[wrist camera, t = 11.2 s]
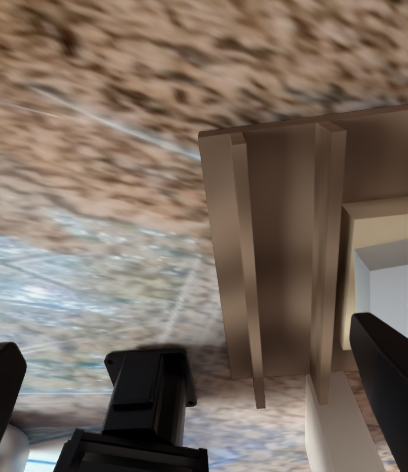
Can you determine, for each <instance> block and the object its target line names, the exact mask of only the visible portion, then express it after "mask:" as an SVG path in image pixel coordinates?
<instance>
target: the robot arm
mask: <svg viewBox="0 0 408 472" xmlns="http://www.w3.org/2000/svg"><path fill="white" fill-rule="evenodd" d="M349 341H350V346H351V349H352V352H353V355H354V358H355V361H356V364H357V368H358V371H359V374H360V377H361V380H362V383H363V386H364V389H365V392H366V395H367V398H368V400H369V403H370V406H371V408H372V411H373V413H374V415H375V418H376V420H377V422H378V424H379V426H380V429H381V431H382V433H383V435H384V437H385V439H386V442H387V444H388V446H389V448H390V450H391V453H392V455H393V457H394V459H395V461H396V464H397V466H398V468H399V470H400V472H408V338H407V337H406V336H404V335H403V334H401V333H400V332H398V331H397V330H395V329H394V328H392V327H391V326H389V325H388V324H387V323H385V322H384V321H382V320H381V319H379V318H378V317H376V316H375V315H373V314H372V313H370V312H361V313H354V314H352V316H351V323H350V334H349ZM104 363H105V366H106V368H107V371H108V373H109V376H110V378H111V381H112V384H113V386H114V390H113V393H112V396H111V399H110V403H109V406H108V409H107V413H106V416H105V419H104V423H103V426H102V429H101V432H100V433H93V432H87V431H85V429H78V428H76V430H75V432H74V434H73V437H72V439H71V440H68V442H66V443H64V446H63V448H62V451H61V454H60V456H59V459H58V461H57V464H56V466H55V468H54V470H53V472H209V467H208V454H207V449H204V448H199V449H194V448H188V447H182V445H183V433H184V421H185V408H186V407H193V406H195V405H196V404H197V396H196V392H195V387H194V383H193V378H192V374H191V369H190V365H189V360H188V356H187V352H186V350H184V349H182V348H177V349H164V350H151V351H138V352H125V353H112V354H108V355H106V357H105V360H104ZM26 368H27V364H26V361H25V359H24V357H23V355H22V354H21V352H20V350H19V348H18V346H17V345H16V344H15V343H14V342H1V343H0V443H1V440H2V438H3V436H4V433H5V431H6V428H7V426H8V423H9V420H10V418H11V415H12V412H13V409H14V406H15V403H16V400H17V397H18V394H19V391H20V388H21V385H22V382H23V379H24V376H25V373H26Z"/></svg>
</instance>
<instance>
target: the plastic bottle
mask: <svg viewBox="0 0 408 472" xmlns="http://www.w3.org/2000/svg"><path fill="white" fill-rule="evenodd" d="M29 450H30V449H29V441H28V438H27V436H26V435H25V434H24V433H23V432H22V431H21V430H20V429H18V428H16V427H15V426H13V425H10V424H8V426H7V428H6V431H5V433H4V436H3V438H2V440H1V443H0V472H23V471H24V469H25V466H26V462H27V459H28V456H29Z"/></svg>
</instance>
